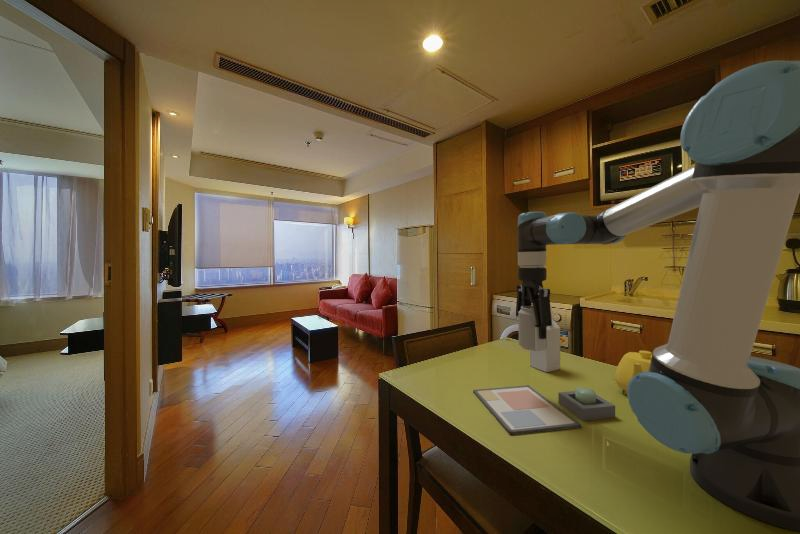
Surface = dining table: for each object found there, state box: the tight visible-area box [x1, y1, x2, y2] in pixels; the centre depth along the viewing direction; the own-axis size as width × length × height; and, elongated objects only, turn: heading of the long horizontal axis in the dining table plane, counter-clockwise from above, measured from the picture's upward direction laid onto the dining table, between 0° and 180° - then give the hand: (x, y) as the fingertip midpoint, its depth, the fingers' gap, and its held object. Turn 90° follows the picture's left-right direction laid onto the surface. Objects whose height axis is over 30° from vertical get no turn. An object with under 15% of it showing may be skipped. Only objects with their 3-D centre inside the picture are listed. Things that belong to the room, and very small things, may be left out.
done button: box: [574, 387, 597, 405], centre depth 78 cm, size 5×5×3 cm
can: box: [518, 305, 547, 351], centre depth 86 cm, size 8×8×12 cm
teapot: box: [614, 350, 653, 396], centre depth 85 cm, size 14×20×13 cm
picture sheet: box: [472, 384, 582, 436], centre depth 80 cm, size 22×18×1 cm
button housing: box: [557, 390, 616, 422], centre depth 78 cm, size 9×9×3 cm
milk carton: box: [529, 314, 561, 373], centre depth 108 cm, size 7×7×19 cm
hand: (532, 345), depth 86 cm, fingers closed on can, 7 cm apart
